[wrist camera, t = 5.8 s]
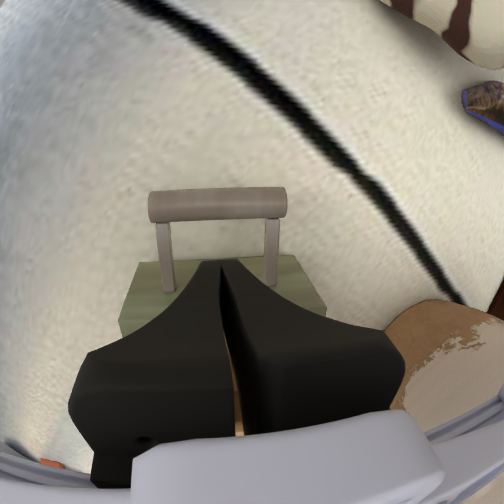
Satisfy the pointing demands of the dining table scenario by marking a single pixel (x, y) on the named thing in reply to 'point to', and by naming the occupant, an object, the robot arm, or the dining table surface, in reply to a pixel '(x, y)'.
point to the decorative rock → (486, 103)
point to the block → (51, 463)
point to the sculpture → (462, 26)
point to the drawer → (180, 272)
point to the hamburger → (498, 304)
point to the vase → (449, 368)
